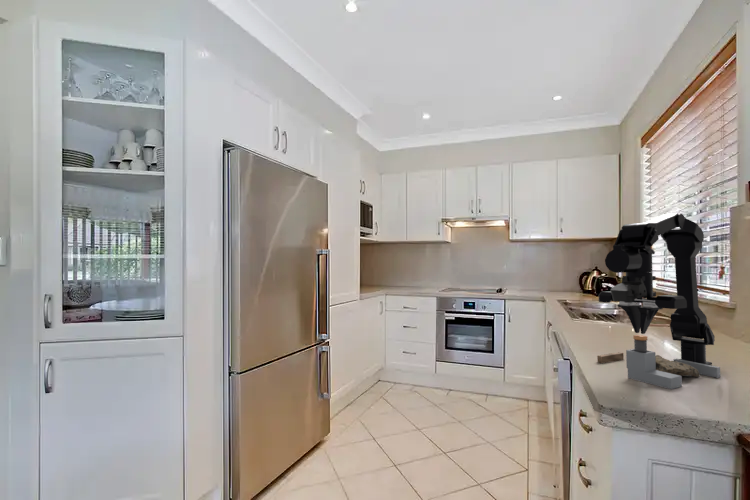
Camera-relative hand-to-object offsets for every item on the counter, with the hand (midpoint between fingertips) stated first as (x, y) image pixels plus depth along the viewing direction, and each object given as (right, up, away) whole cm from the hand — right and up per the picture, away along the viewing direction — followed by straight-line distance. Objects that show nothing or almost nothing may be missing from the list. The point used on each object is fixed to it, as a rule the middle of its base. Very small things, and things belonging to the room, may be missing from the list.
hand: (640, 333), depth 100 cm
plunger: (0, -6, 0) cm, 6 cm away
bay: (+9, -11, +1) cm, 15 cm away
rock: (+10, -12, +3) cm, 16 cm away
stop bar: (+3, -12, +17) cm, 21 cm away
